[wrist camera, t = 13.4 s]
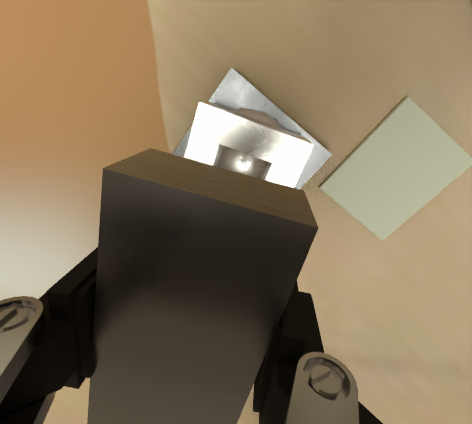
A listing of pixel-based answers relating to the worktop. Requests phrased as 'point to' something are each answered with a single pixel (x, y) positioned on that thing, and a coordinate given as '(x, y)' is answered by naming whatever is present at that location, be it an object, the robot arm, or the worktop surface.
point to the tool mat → (396, 169)
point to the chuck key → (189, 287)
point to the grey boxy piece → (247, 144)
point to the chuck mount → (248, 97)
